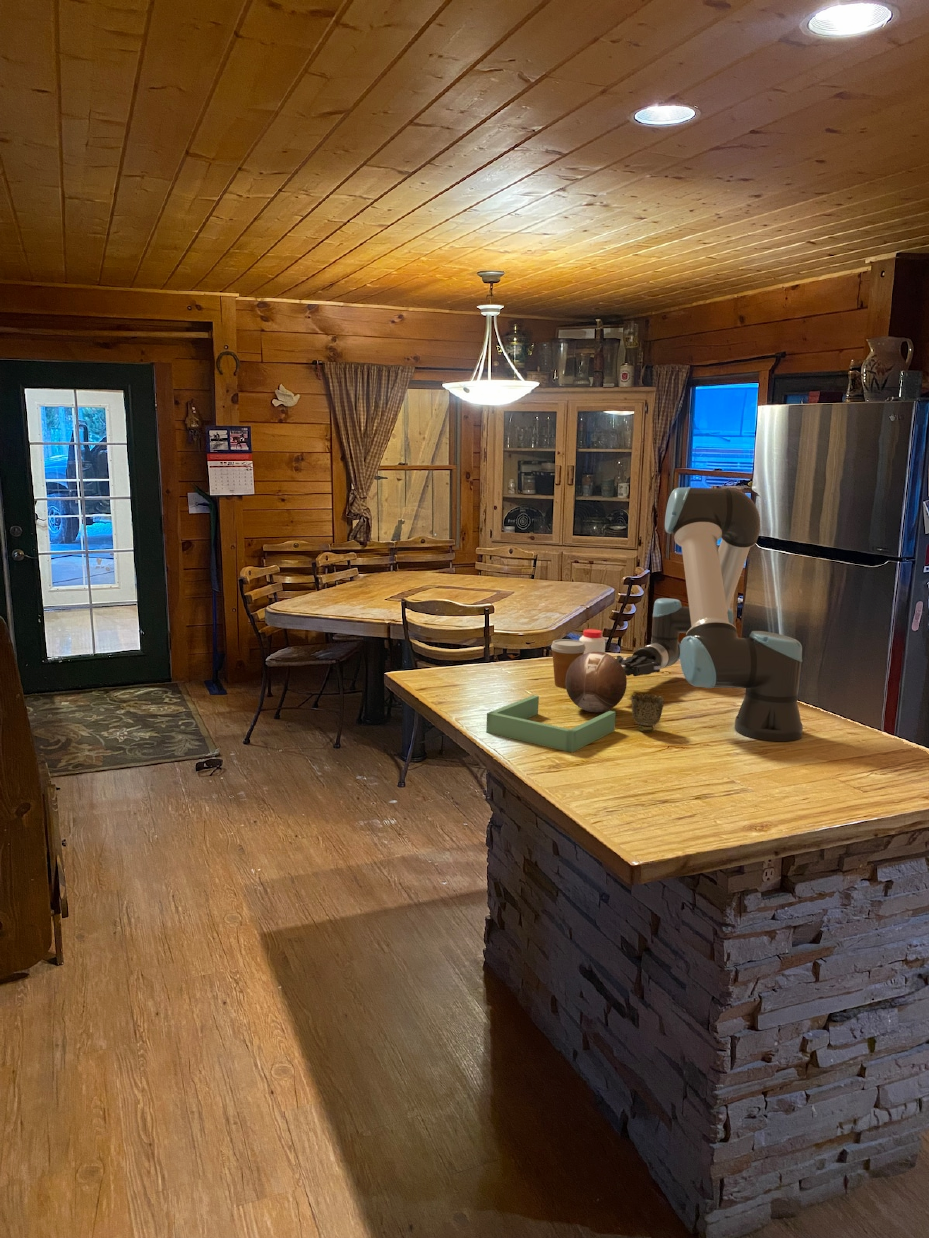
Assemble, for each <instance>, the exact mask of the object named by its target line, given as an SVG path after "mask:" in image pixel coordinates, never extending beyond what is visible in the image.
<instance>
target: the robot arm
mask: <svg viewBox="0 0 929 1238" xmlns="http://www.w3.org/2000/svg"><path fill="white" fill-rule="evenodd" d="M669 495H670V496H669V497H668V501H667V504H666V510H665V517H664V531H665V532H666V533H667V534H669V535H672V534H673V537H674V538H673V539H674V542H675V544H676V545H678V546H679V547H680V548H681V552H682V560H683V568H684V569H683V570H684V575H685V584H686V586H685V587H686V594H687V600H688V606H685V605H682V602H681V600H680V599H677V598H670V597H669V598H667V597H665V598H664V597H661V598H657V599H655V601H654V604H653V610H652V611H653V613H652V624H651V626H652V628H651V639H650V640H651V641H650V644H647V645H645V646H643V647H640V648H637V649H636V650H635V651H634V652H633V654H632V655H631V656H627V657H626V658H624V656H622V655H616V658H615V659H616V660H618V662H619V663H620V664H621V665H622V667H623V669H624V671H625V674H626V677H627V676H628V677H629V676H633V677H639V676H640V677H641V676H643V675H645V676H647V675H651V674H654V673H660V672H661V670H662V669H664V668H666V667H667V668H668V667H670V666H672V665H674V664H676V663H677V662H680V667H681V671H682V674H683V677H684V679H685V680H686V681H687V683H688V684H690V685H691V686H692V687H695V688H696V687H697V688H706V689H712V688H715V689H719V688H720V689H745V691H744V694H745V695H744V698H743V700H742V703H741V705H740V708H739V710H738V713H737V715H736V716H735V719H734V726H733V727H734V730H735V731H736V732H737V733H739V734H741V735H743V736H746V737H749V738H752V739H757V740H763V741H769V742H772V741H773V742H791V741H793V742H794V741H797V740H799V739H801V738H802V737H803V732H804V726H803V723H802V722H801V721H802V720H801V714H800V709H799V705H798V700H799V699H798V698H799V690H800V689H799V687H800V679H801V672H802V664H803V663H802V662H803V646H802V644H801V642H800V641H799V640H797V639H795V638H794V637H792V636H791V637H790V636H788V635H785V634H784V635H783V634H781V633H780V634H779V633H775V632H770V631H763V630H752V631H751V632H750V634H749V636H748V637H739V636H738V629H737V627H736V625H734V612H733V610H732V608H730V606H731V603H732V600H733V597H734V594H735V592H736V588H737V586H738V584H739V581H740V577H741V575H742V572H743V569H744V566H745V564H746V562H747V557H748V554H749V551H750V550H751V548H752V547H753V546H755V545H756V543H757V542H758V538H759V536H760V532H761V518H760V517H761V516H760V514H759V511H758V508H757V505H756V504H755V503H754V501H753V500H752V499H751V497H749V496H748V495H747V494H746V493H744V492H743V491H741V490H738V489H735V488H730V487H729V488H727V487H725V488H718V487H717V488H712V487H691V486H688V487H676V488H674V489H673V490H672V492H671V493H670V494H669ZM719 540H721V541H720V543H719V544H718V541H719ZM718 545H719V546H718ZM680 633H681V634H685V637H683V638H682V640H681V641H680V642H679V638H680V637H679V635H680Z"/></svg>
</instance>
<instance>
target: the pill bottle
mask: <svg viewBox="0 0 929 1238" xmlns="http://www.w3.org/2000/svg"><path fill="white" fill-rule="evenodd" d="M582 631H583V635H581V636H580V637H579V639H578V641H581V642H584V645H585V647H586V649H585V651H584V654H585V653H588V652H603V653H606V639H605V638H604V637H603V631H602V630H599V629H591V628H587V629H584V630H582Z"/></svg>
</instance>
